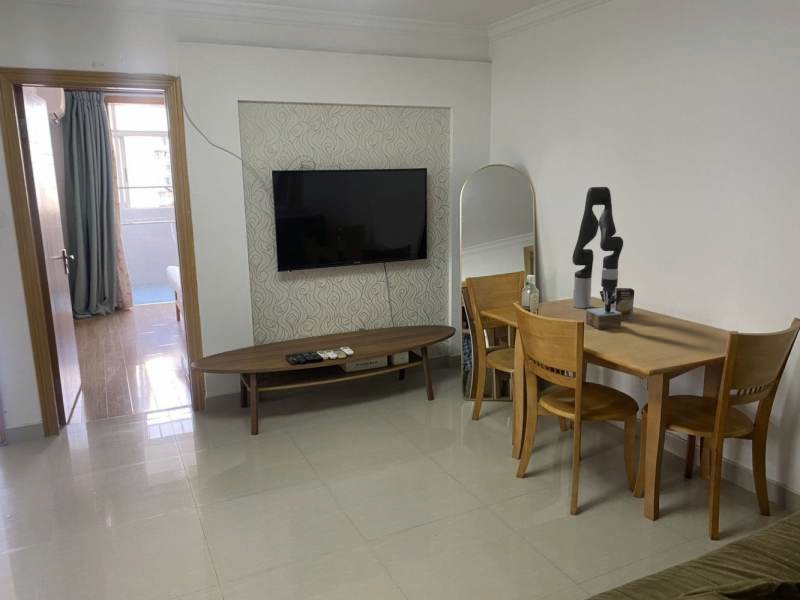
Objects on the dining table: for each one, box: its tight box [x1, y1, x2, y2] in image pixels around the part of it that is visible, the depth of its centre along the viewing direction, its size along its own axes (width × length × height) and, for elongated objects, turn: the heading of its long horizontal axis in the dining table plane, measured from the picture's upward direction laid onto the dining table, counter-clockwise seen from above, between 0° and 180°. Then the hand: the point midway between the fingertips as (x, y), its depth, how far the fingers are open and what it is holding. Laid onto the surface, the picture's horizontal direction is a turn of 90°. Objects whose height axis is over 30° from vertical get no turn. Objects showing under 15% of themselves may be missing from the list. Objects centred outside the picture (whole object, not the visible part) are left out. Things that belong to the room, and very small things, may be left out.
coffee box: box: [611, 287, 635, 321], centre depth 312 cm, size 9×6×16 cm
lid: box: [586, 307, 621, 316], centre depth 299 cm, size 12×12×1 cm
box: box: [585, 310, 622, 331], centre depth 300 cm, size 12×12×7 cm
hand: (607, 311), depth 296 cm, fingers closed
